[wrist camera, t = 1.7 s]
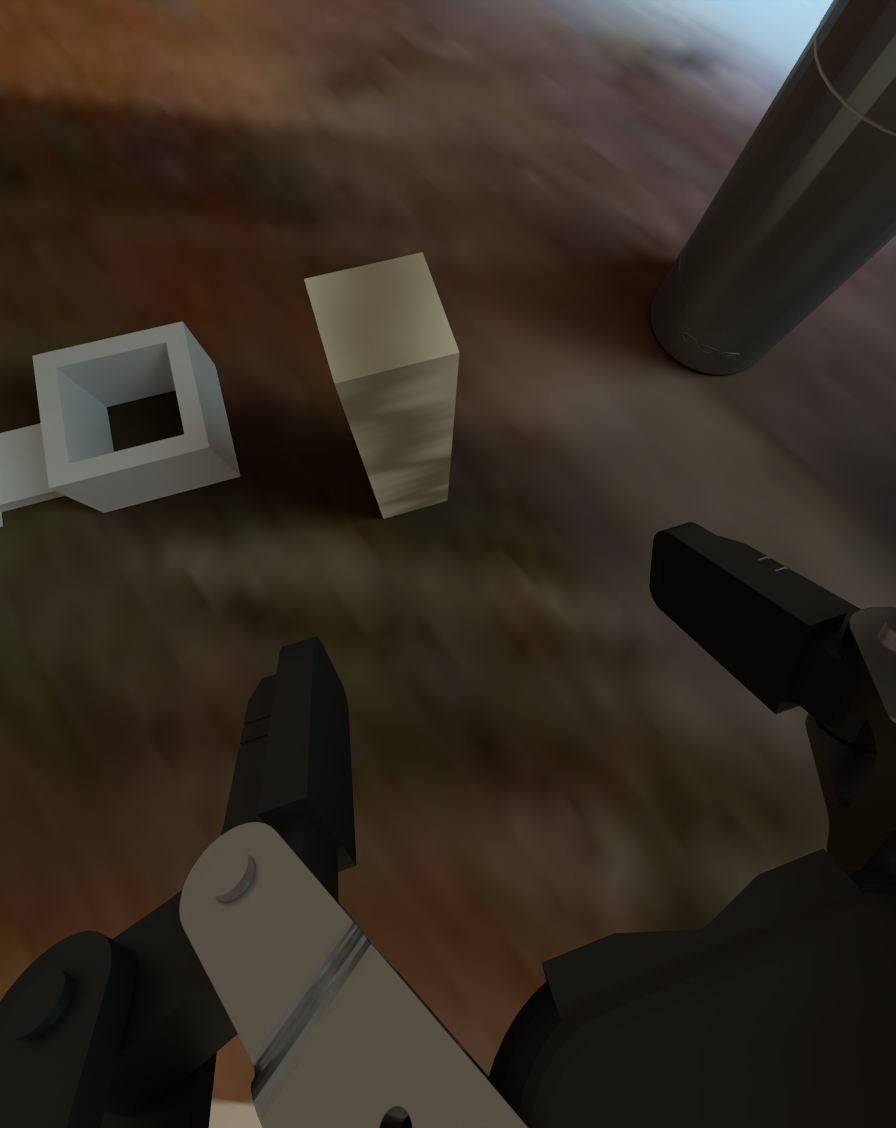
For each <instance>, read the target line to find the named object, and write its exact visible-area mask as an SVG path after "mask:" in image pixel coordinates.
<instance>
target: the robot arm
mask: <svg viewBox="0 0 896 1128" xmlns="http://www.w3.org/2000/svg"><path fill="white" fill-rule="evenodd" d="M895 235H896V0H834V1H833V2H832V4H831V5H830V7H829V9H828V10H827V12H826V14H825V15H824V17H823V19H822V20H821V22H820V24H819V26H818V28H817V29H816V31H815V33H814V34H813V36H812V37H811V39H810V41H809V42H808V44H807V46H806V47H805V49H804V51H803V52H802V54H801V56H800V57H799V59H798V61H797V62H796V64H795V65H794V67H793V69H792V70H791V72H790V74H789V75H788V77H787V79H786V80H785V82H784V84H783V85H782V87H781V88H780V90H779V92H778V93H777V95H776V97H775V98H774V100H773V102H772V103H771V105H770V107H769V108H768V110H767V112H766V113H765V115H764V116H763V118H762V120H761V121H760V123H759V125H758V126H757V128H756V130H755V131H754V133H753V135H752V136H751V138H750V139H749V141H748V143H747V144H746V146H745V148H744V149H743V151H742V153H741V154H740V156H739V158H738V159H737V161H736V163H735V164H734V166H733V167H732V169H731V171H730V172H729V174H728V176H727V177H726V179H725V181H724V182H723V184H722V186H721V187H720V189H719V190H718V192H717V194H716V195H715V197H714V199H713V200H712V202H711V204H710V205H709V207H708V209H707V210H706V212H705V214H704V215H703V217H702V218H701V220H700V222H699V223H698V225H697V227H696V228H695V230H694V232H693V233H692V235H691V237H690V238H689V240H688V241H687V243H686V244H685V246H684V248H683V249H682V251H681V253H680V254H679V256H678V258H677V259H676V261H675V263H674V264H673V266H672V267H671V269H670V271H669V272H668V274H667V276H666V277H665V279H664V281H663V282H662V284H661V286H660V287H659V289H658V291H657V292H656V294H655V296H654V298H653V300H652V305H651V310H650V316H651V324H652V328H653V331H654V334H655V335H656V337H657V339H658V341H659V343H660V344H661V345H662V346H663V348H664V349H665V350H666V351H667V352H668V353H669V354H670V355H671V356H672V357H673V358H675V359H676V360H677V361H678V362H680V363H682V364H684V365H685V366H687V367H689V368H691V369H694V370H697V371H700V372H703V373H709V374H715V375H722V374H732V373H737V372H741V371H743V370H745V369H747V368H750V367H751V366H753V365H754V364H755V363H756V362H758V361H759V360H760V359H761V358H762V357H763V356H764V355H766V354H767V353H768V352H769V351H770V350H771V349H772V348H773V347H774V346H775V345H776V344H778V343H779V342H780V341H781V340H782V339H783V338H784V337H785V336H786V335H787V334H788V333H789V332H791V331H792V330H793V329H794V328H795V327H796V326H797V325H798V324H799V323H801V322H802V321H803V320H804V319H805V318H806V317H807V316H808V315H810V314H811V313H812V312H813V311H814V310H815V309H816V308H817V307H818V306H819V305H820V304H821V303H823V302H824V301H825V300H826V299H827V298H828V297H829V296H830V295H831V294H832V293H833V292H835V291H836V290H837V289H838V288H839V287H840V286H841V285H842V284H843V283H844V282H845V281H846V280H848V279H849V278H850V277H851V276H852V275H853V274H854V273H855V272H856V271H857V270H858V269H860V268H861V267H862V266H863V265H864V264H865V263H866V262H867V261H868V260H869V259H870V258H872V257H873V256H874V255H875V254H876V253H877V252H878V251H879V250H880V249H881V248H882V247H883V246H885V245H886V244H887V243H888V242H889V241H890V240H891V239H892V238H893V237H894V236H895ZM649 586H650V592H651V595H652V598H653V600H654V602H655V603H656V605H657V606H658V607H659V609H660V610H662V611H663V612H664V613H665V614H666V615H667V616H668V617H669V618H670V619H671V620H673V621H674V622H675V623H676V624H677V625H678V626H679V627H680V628H681V629H682V630H684V631H685V632H686V633H687V634H688V635H689V636H690V637H691V638H692V639H693V640H695V641H696V642H697V643H698V644H699V645H700V646H701V647H702V648H703V649H704V650H706V651H707V652H708V653H709V654H710V655H711V656H712V657H713V658H714V659H715V660H717V661H718V662H719V663H720V664H721V665H722V666H723V667H724V668H725V669H726V670H728V671H729V672H730V673H731V674H732V675H733V676H734V677H735V678H736V679H737V680H738V681H740V682H741V683H742V684H743V685H744V686H745V687H746V688H747V689H748V690H749V691H751V692H752V693H753V694H754V695H755V696H756V697H757V698H758V699H759V700H760V701H762V702H763V703H764V704H765V705H766V706H767V707H768V708H769V709H770V710H771V711H773V712H774V713H775V714H778V713H781V712H783V711H786V710H789V709H792V708H794V707H797V706H801V707H802V708H803V709H805V710H806V711H807V712H808V715H807V717H806V722H805V724H806V729H807V733H808V737H809V741H810V745H811V749H812V753H813V757H814V760H815V764H816V768H817V772H818V776H819V780H820V784H821V788H822V792H823V795H824V799H825V803H826V807H827V811H828V816H829V836H828V843H827V852H826V851H825V850H824V849H821V850H819V851H816V852H814V853H812V854H809V855H807V856H804V857H802V858H799V859H797V860H794V861H792V862H789V863H787V864H784V865H782V866H779V867H777V868H775V869H772V870H770V871H767V872H765V873H762V874H760V875H758V876H757V877H756V878H755V879H754V880H753V881H752V882H751V883H750V884H749V885H748V886H747V887H746V888H745V889H744V890H743V891H742V892H741V893H740V894H739V895H738V896H737V897H736V898H735V899H734V900H733V901H732V902H731V903H730V904H729V905H728V906H727V907H726V908H725V909H724V910H723V911H722V912H721V913H720V914H719V915H718V916H717V917H716V918H715V919H714V920H713V921H712V922H711V923H710V924H708V925H707V926H706V927H704V928H702V929H698V930H686V931H660V932H635V933H614V934H612V935H609V936H607V937H604V938H602V939H600V940H597V941H595V942H592V943H590V944H587V945H585V946H582V947H580V948H577V949H575V950H572V951H570V952H567V953H565V954H563V955H560V956H558V957H555V958H553V959H550V960H548V961H545V962H543V963H542V965H543V969H544V974H545V978H546V982H545V983H544V984H543V985H542V986H541V987H540V988H539V989H538V990H537V991H536V992H535V993H534V994H533V995H532V996H531V997H530V998H529V1000H528V1001H527V1002H526V1003H525V1005H524V1006H523V1007H522V1009H521V1010H520V1011H519V1012H518V1014H517V1015H516V1017H515V1019H514V1021H513V1022H512V1024H511V1026H510V1027H509V1029H508V1031H507V1032H506V1034H505V1036H504V1038H503V1041H502V1043H501V1045H500V1048H499V1050H498V1052H497V1054H496V1057H495V1059H494V1062H493V1065H492V1068H491V1071H490V1074H489V1077H488V1075H487V1074H486V1073H485V1072H484V1071H483V1070H482V1068H481V1067H480V1066H479V1065H478V1064H477V1063H476V1061H475V1060H474V1059H473V1058H472V1057H471V1056H470V1054H469V1053H468V1052H467V1051H466V1050H465V1049H464V1047H463V1046H462V1045H461V1044H460V1043H459V1042H458V1040H457V1039H456V1038H455V1037H454V1036H453V1035H452V1033H451V1032H450V1031H449V1030H448V1029H447V1028H446V1026H445V1025H444V1024H443V1023H442V1022H441V1021H440V1020H439V1018H438V1017H437V1016H436V1015H435V1014H434V1013H433V1011H432V1010H431V1009H430V1008H429V1007H428V1006H427V1005H426V1003H425V1002H424V1001H423V1000H422V999H421V998H420V996H419V995H418V994H417V993H416V992H415V991H414V990H413V988H412V987H411V986H410V985H409V984H408V983H407V981H406V980H405V979H404V978H403V977H402V976H401V974H400V973H399V972H398V971H397V970H396V969H395V967H394V966H393V965H392V964H391V963H390V962H389V960H388V959H387V958H386V957H385V956H384V955H383V953H382V952H381V951H380V950H379V949H378V948H377V946H376V945H375V944H374V943H373V942H372V941H371V939H370V938H369V937H368V936H367V935H366V934H365V932H364V931H363V930H362V929H361V928H360V927H359V925H358V924H357V923H356V922H355V921H354V920H353V918H352V917H351V916H350V915H349V914H348V913H347V911H346V910H345V909H344V908H343V907H342V906H341V904H340V903H339V902H338V872H340V871H342V870H345V869H348V868H351V867H353V866H356V848H355V828H354V809H353V789H352V770H351V750H350V731H349V711H348V703H347V698H346V694H345V691H344V688H343V685H342V683H341V680H340V678H339V676H338V674H337V672H336V670H335V668H334V666H333V664H332V662H331V660H330V658H329V656H328V654H327V652H326V650H325V648H324V646H323V644H322V642H321V641H320V639H319V638H318V637H313V638H310V639H307V640H303V641H300V642H297V643H294V644H290V645H287V646H284V647H282V648H281V650H280V654H279V661H278V668H277V674H275V675H272V676H269V677H265V678H262V680H261V682H260V683H259V685H258V686H257V688H256V690H255V691H254V693H253V695H252V696H251V698H250V699H249V701H248V706H247V711H246V716H245V721H244V725H245V728H243V731H242V736H241V741H240V744H241V748H239V751H238V756H237V761H236V766H235V771H234V776H233V781H232V786H231V791H230V796H229V801H228V806H227V811H226V816H225V821H224V826H223V829H222V833H221V836H220V837H219V838H218V839H216V840H215V841H214V842H213V843H212V844H211V845H210V846H209V847H208V848H207V849H206V850H205V851H204V852H203V854H202V855H201V856H200V858H199V859H198V860H197V862H196V863H195V865H194V866H193V868H192V870H191V871H190V873H189V876H188V878H187V880H186V882H185V885H184V888H183V889H182V890H181V891H180V892H179V893H178V894H176V895H175V896H174V897H172V898H171V899H170V900H168V901H167V902H165V903H164V904H162V905H161V906H160V907H158V908H157V909H155V910H154V911H152V912H151V913H150V914H148V915H147V916H145V917H144V918H142V919H141V920H140V921H138V922H137V923H135V924H134V925H132V926H131V927H129V928H128V929H127V930H125V931H124V932H122V933H121V934H119V935H118V936H117V937H115V938H114V939H110V938H108V937H107V936H105V935H103V934H101V933H99V932H95V931H84V932H80V933H77V934H74V935H71V936H69V937H67V938H65V939H63V940H61V941H60V942H58V943H57V944H55V945H54V946H52V947H51V948H49V949H48V950H47V951H46V952H44V953H43V954H42V955H41V956H40V957H38V958H37V959H36V960H35V961H34V962H33V963H32V964H31V965H30V966H29V967H28V968H27V969H26V970H25V971H24V972H23V973H22V974H21V975H20V977H19V978H18V979H17V980H16V981H15V983H14V984H13V985H12V986H11V988H10V989H9V990H8V991H7V993H6V994H5V996H4V997H3V999H2V1000H1V1001H0V1128H209V1118H210V1109H211V1100H212V1091H213V1082H214V1073H215V1063H216V1054H217V1051H218V1050H220V1049H221V1048H222V1047H223V1046H224V1045H225V1044H227V1043H228V1042H229V1041H230V1040H231V1039H232V1038H233V1037H235V1036H236V1035H237V1034H239V1036H240V1038H241V1040H242V1042H243V1044H244V1046H245V1048H246V1050H247V1052H248V1054H249V1056H250V1058H251V1061H252V1064H253V1067H254V1072H255V1076H254V1079H253V1081H252V1084H251V1093H252V1098H253V1103H254V1106H255V1109H256V1112H257V1115H258V1117H259V1120H260V1122H261V1125H262V1127H263V1128H896V608H893V607H871V608H866V609H862V610H861V609H860V608H858V607H856V606H854V605H852V604H851V603H849V602H847V601H845V600H844V599H842V598H840V597H838V596H836V595H835V594H833V593H831V592H829V591H828V590H826V589H824V588H822V587H821V586H819V585H817V584H815V583H814V582H812V581H810V580H808V579H806V578H805V577H803V576H801V575H799V574H798V573H796V572H794V571H792V570H791V569H787V570H786V569H785V566H784V565H782V564H780V563H778V562H777V561H775V560H773V559H771V558H770V559H767V556H766V555H764V554H762V553H761V552H759V551H757V550H755V549H754V548H752V547H750V546H748V545H747V544H744V543H741V542H738V541H734V540H731V539H728V538H724V537H721V536H716V535H715V534H713V533H711V532H709V531H708V530H706V529H704V528H703V527H701V526H699V525H698V524H695V523H692V522H689V523H685V524H682V525H679V526H676V527H672V528H669V529H666V530H663V531H659V532H658V533H657V534H656V535H655V537H654V540H653V550H652V561H651V572H650V584H649Z"/></svg>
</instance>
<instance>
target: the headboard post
mask: <svg viewBox="0 0 896 1128" xmlns="http://www.w3.org/2000/svg"><path fill="white" fill-rule="evenodd" d="M32 357H33V365H34V373H35V381H36V389H37V397H38V405H39V413H40V421H41V423H40V424H36V425H32V426H28V427H24V428H20V429H16V430H12V431H7V432H3V433H0V527H3V522H2V512H4V511H8V510H12V509H16V508H20V507H24V506H27V505H31V504H35V503H39V502H43V501H47V500H50V499H54V498H58V497H62V496H67V497H69V498H71V499H74V500H76V501H78V502H80V503H83V504H85V505H87V506H89V507H92V508H94V509H96V510H98V511H101V512H103V513H106V512H110V511H113V510H117V509H121V508H125V507H128V506H132V505H136V504H140V503H143V502H147V501H151V500H155V499H158V498H162V497H166V496H170V495H173V494H177V493H181V492H185V491H188V490H192V489H196V488H200V487H203V486H207V485H211V484H215V483H218V482H222V481H226V480H230V479H233V478H237V477H241V476H240V472H239V468H238V463H237V459H236V454H235V450H234V446H233V441H232V437H231V432H230V428H229V423H228V419H227V415H226V410H225V406H224V401H223V397H222V393H221V388H220V384H219V379H218V375H217V371H216V366H215V364H214V363H213V362H212V360H211V359H210V358H209V356H208V355H207V354H206V352H205V351H204V350H203V348H202V347H201V346H200V344H199V343H198V342H197V340H196V339H195V338H194V336H193V335H192V333H191V332H190V331H189V329H188V328H187V327H186V325H185V324H184V323H183V321H182V322H178V323H173V324H169V325H165V326H160V327H156V328H152V329H147V330H143V331H138V332H134V333H130V334H125V335H121V336H117V337H112V338H108V339H103V340H99V341H95V342H90V343H86V344H82V345H77V346H73V347H68V348H64V349H60V350H55V351H51V352H46V353H42V354H38V355H33V356H32ZM175 390H176V395H177V400H178V405H179V410H180V414H181V419H182V424H183V429H184V435H180V436H176V437H172V438H168V439H164V440H160V441H156V442H152V443H148V444H144V445H140V446H136V447H132V448H128V449H125V450H121V451H117V452H114V449H113V442H112V436H111V430H110V424H109V418H108V412H107V407H109V406H113V405H117V404H122V403H126V402H130V401H134V400H138V399H142V398H146V397H150V396H154V395H159V394H163V393H167V392H171V391H175Z"/></svg>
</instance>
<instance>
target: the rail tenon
mask: <svg viewBox="0 0 896 1128" xmlns="http://www.w3.org/2000/svg"><path fill="white" fill-rule="evenodd" d="M304 281H305V284H306V287H307V291H308V294H309V298H310V301H311V305H312V308H313V312H314V315H315V318H316V322H317V325H318V329H319V332H320V336H321V339H322V342H323V346H324V349H325V353H326V356H327V360H328V363H329V366H330V370H331V373H332V377H333V380H334V384H335V386H336V389H337V392H338V395H339V397H340V400H341V403H342V406H343V409H344V411H345V414H346V417H347V420H348V422H349V425H350V428H351V431H352V433H353V436H354V439H355V442H356V444H357V447H358V450H359V453H360V456H361V458H362V461H363V464H364V467H365V469H366V472H367V475H368V478H369V480H370V483H371V486H372V489H373V492H374V494H375V497H376V500H377V503H378V505H379V508H380V511H381V514H382V516H383V519H385V518H388V517H392V516H395V515H399V514H402V513H406V512H409V511H413V510H416V509H420V508H423V507H427V506H430V505H434V504H437V503H441V502H444V501H447V497H448V485H449V473H450V460H451V448H452V436H453V424H454V412H455V400H456V388H457V375H458V363H459V350H458V347H457V345H456V342H455V339H454V336H453V334H452V331H451V328H450V325H449V323H448V320H447V317H446V315H445V312H444V309H443V306H442V304H441V301H440V298H439V296H438V293H437V290H436V287H435V285H434V282H433V279H432V276H431V274H430V271H429V268H428V266H427V263H426V260H425V257H424V255H423V252H421V253H417V254H413V255H408V256H404V257H399V258H395V259H390V260H386V261H382V262H377V263H373V264H368V265H364V266H359V267H355V268H350V269H346V270H342V271H337V272H333V273H328V274H324V275H319V276H315V277H311V278H306V279H304Z"/></svg>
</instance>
